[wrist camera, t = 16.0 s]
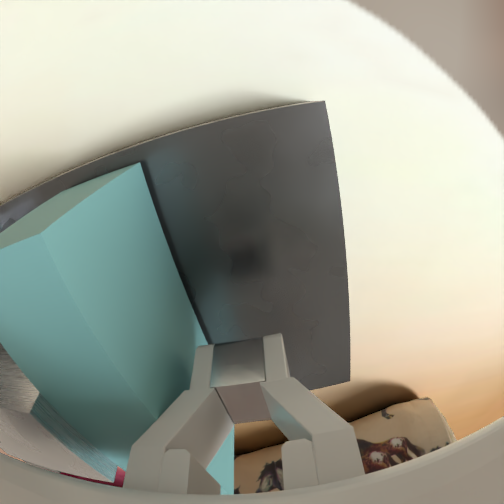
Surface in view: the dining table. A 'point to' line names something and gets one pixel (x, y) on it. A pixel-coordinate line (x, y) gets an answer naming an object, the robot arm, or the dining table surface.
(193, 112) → the dining table surface
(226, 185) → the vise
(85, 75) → the dining table surface
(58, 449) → the steel block
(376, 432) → the pencil case
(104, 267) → the bar
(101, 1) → the dining table surface
